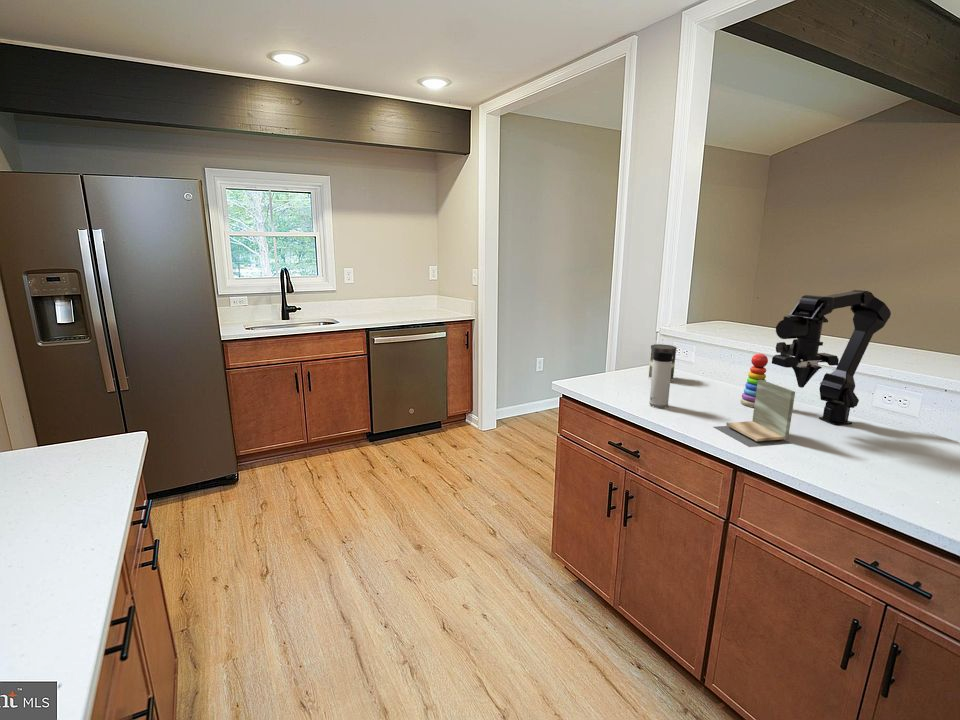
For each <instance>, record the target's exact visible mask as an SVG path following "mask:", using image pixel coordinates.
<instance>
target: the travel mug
mask: <svg viewBox="0 0 960 720" xmlns="http://www.w3.org/2000/svg"><path fill="white" fill-rule="evenodd" d="M672 356H673V353H670V352H658V351H655V352H654V357H653V366H652V378H651V379H650V380H651V381H650V390H649V391H650V392H649V401H648V402H649V404H650V405H651V406H650V405H649V406H650V407H652V406H654V407H653V408H655V407H658V409H666V408H668V407H669V398H670V385H671V381H670V378H671V368H672ZM665 407H666V408H665Z"/></svg>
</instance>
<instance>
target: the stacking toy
mask: <svg viewBox="0 0 960 720" xmlns="http://www.w3.org/2000/svg"><path fill="white" fill-rule="evenodd" d="M768 362H769V358H768V357H767V355H766V354H763V353H756V354H754V355H752V357H751V364H752V366H751V367H750V368H749V372H748V374H747V375H748V377H747V378H746V382H745V385H744V386H745V387H744V389H743V393H742V394H741V398H740V402H739V403H740V404H742V405H743V406H746V407H749V408H754V405H755V398H756V390H757V383H758V380H764V381H766V382H767V380H766V378H767V375H766V373H767V368H766V366H767V365H768Z"/></svg>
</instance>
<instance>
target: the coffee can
mask: <svg viewBox="0 0 960 720" xmlns="http://www.w3.org/2000/svg"><path fill="white" fill-rule="evenodd" d="M677 349H678V348H677V347H676V346H674V345H671V344H670V345H669V344H662V343H661V344H660V343H657V344H651V345H650V355H649V367H648V377H649V378H650V379H649V378H648V379H649V380H651V378H652V366H653V357H654V352H655V351H658V352H670V353H673V356H672V368H671V378H670V380H672V381H674V374H675V363H676V362H675V361H676V354H677Z"/></svg>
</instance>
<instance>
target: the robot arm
mask: <svg viewBox="0 0 960 720" xmlns="http://www.w3.org/2000/svg"><path fill="white" fill-rule="evenodd" d="M847 307H850V311H851V312H852V314H853V317H852V322H853V327H854V330H853V332H852V334H851V336H850V338H849V340H848V342H847V344H846V346H845V348H844V351H843V352H842V355H841V357H840V359H839V357H838V355H835V354H831V353H826V352H819V347H821V346H823V344H824V341H821V336H822V331H823V323H824V324H825V323H826V324H828V322H829V320H828V318H827V317H825V316H826V315H828V314H831V313H833V311H834V310H836V309H842V308H847ZM891 314H892V313H891V310H890V308H889V307H888V305H887V304H886V303H885V302H884V301H882V300H881V299H879V298H877V297H876V296H875V295H874V294H873V292H871V291H869V290H862V289H854V290H851V291H846V292H841V293H840V292H839V293H834V294H829V295H814V294H811V295H810V294H804V295H803V296H801V299H799V301H798V302H797V303H796V305H795V306H794V307H793V309H792V310H791V311H790V313H789V314H788V315H784V316H783V319H782V320H780V321H779V322H778V323H777V324H776V326H775V334H776V336H778V338H780V339H781V340H790V339H791V340H792V339H793V340H792V343H790V344H787V343H786V342H785V341H783V342H782V341H781V342H780V341H779V342H776V346H775V353H777V354H775V355H773V356H772V358H771V364H773V365H776V366H779V367H783V368H791V369H792V370H793V372H794V376H795V378H796V382H797V387H798V388H802V389H803V388H804V387H805V386H806V385H807V384H808V383H809V381H810V380H811V378H812V377H813V376H814V375H815V374H816V373H817V372H819V370H821V369H822V368H823V367H822V366H819V363H827V365H828V366H831V367H832V366H833V367H834V366H836V367H835V369H834V371H832V372H831V373H827V372H826V373H825V374H824V376H823V378H822V381H821V382H820V383H819V397H820V400H821V401H825V406H824V407H823V413H822V416H819V417H818V419H819V420H821V421H823V422H827V423H829V424H831V425H834V426H835V425H836V426H839V425H840V426H841V425H842V426H843V425H852V424H853V421H850V420H849V414H850V410H851V409H854V408H856V407H857V406H858V405H859V401H860V399H859V398H858V396H857V395H856V393H855V392H854V391H855V388H856V382H855V378H854V376H855V373H856V371H857V369H858V368H859V365H860V363H861V361H862V359H863V357H864V355H865V352H866V350H867V348H868V347H869V344H870V342H871V340H872V338H873V336H874V334H875V333H876V332H879V331H880V330H882V328H884V327H885V326H886V324H887V322H888V320H889V319H890V318H891Z"/></svg>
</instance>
